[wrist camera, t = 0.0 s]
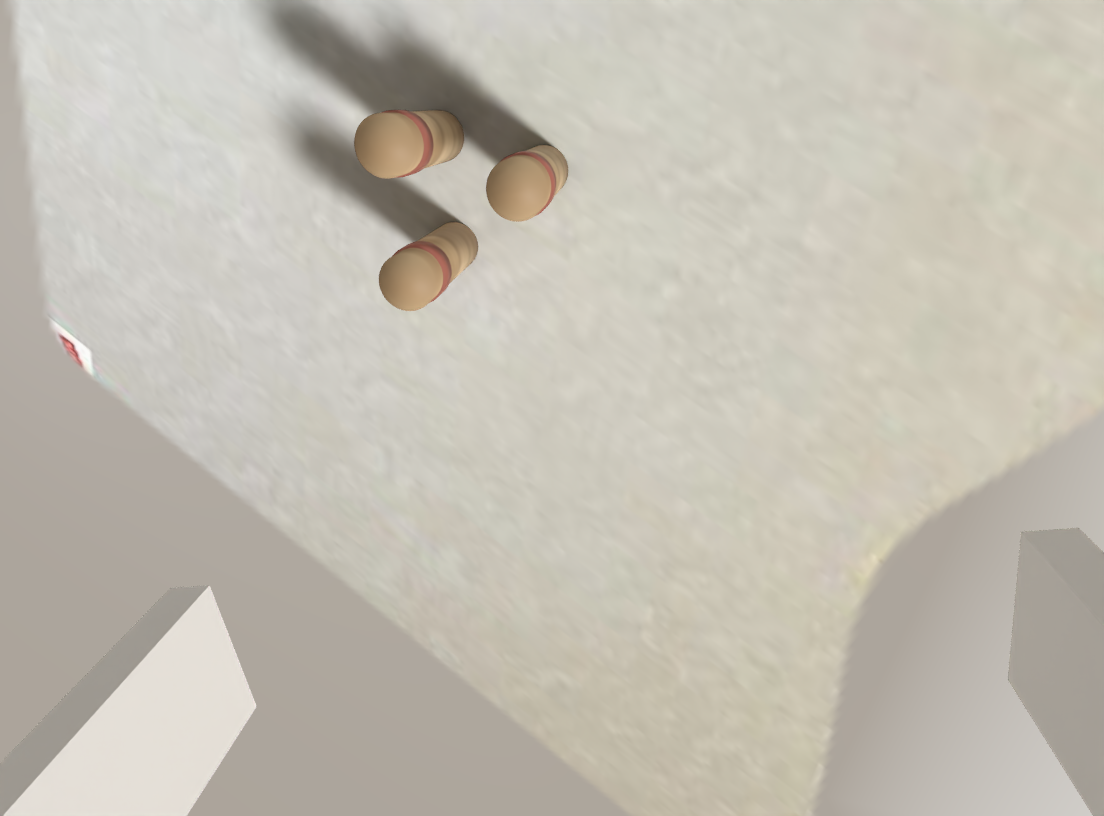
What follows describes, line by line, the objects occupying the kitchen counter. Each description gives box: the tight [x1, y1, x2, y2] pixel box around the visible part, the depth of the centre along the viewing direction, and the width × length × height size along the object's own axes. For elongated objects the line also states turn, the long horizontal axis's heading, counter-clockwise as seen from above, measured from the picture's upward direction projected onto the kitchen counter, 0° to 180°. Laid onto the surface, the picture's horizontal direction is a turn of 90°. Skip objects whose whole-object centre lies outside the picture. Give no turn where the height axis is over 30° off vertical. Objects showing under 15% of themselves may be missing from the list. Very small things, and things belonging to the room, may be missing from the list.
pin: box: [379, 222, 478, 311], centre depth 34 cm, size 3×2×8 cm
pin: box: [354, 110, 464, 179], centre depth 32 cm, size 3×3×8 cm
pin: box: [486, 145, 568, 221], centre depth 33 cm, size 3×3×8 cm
